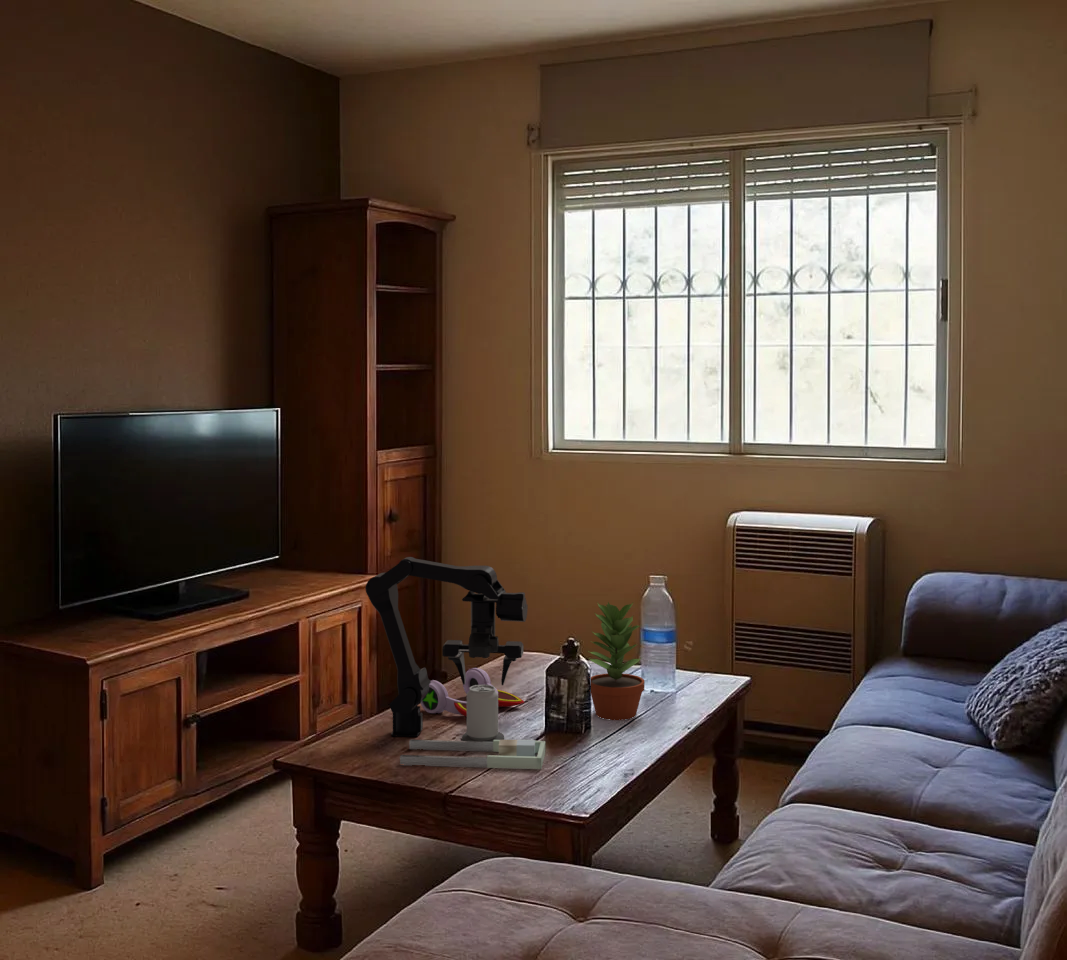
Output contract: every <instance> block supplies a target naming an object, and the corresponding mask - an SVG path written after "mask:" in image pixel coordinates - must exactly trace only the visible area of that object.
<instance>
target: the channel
mask: <svg viewBox="0 0 1067 960" xmlns="http://www.w3.org/2000/svg"><path fill="white" fill-rule="evenodd" d="M408 749H409V750H417V749H420V750H421V749H423V750H424V751H452V752H453V751H461V752H462V751H463V752H490V753H491V752H492V753H493V742H484V741H462V740H443V739H436V740H435V739H409V748H408ZM423 750H422V751H423ZM400 764H404V765H403V766H412V765H425V766H424V767H450V768H451V767H453V768H454V767H457V768H481V769H482V768H483V769H485V768H487V756H454V755H453V756H452V755H451V756H449V755H448V756H447V755H442V756H441V755H418V754H415V755H414V754H401V755H400V756H399V765H400Z"/></svg>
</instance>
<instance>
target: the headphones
mask: <svg viewBox="0 0 1067 960" xmlns="http://www.w3.org/2000/svg"><path fill="white" fill-rule="evenodd" d="M489 675H490V674H488V673H487V671H485V670H484V669H482V668H478V667H472V668H469V669H468V670H467V671H465V676H466V679H465V685H463V684H462V687H463V691H464V692H465V694H466V695H467V693H468V692H469V691H470V690H469V688H470V687H471V686H474V685H491V686H494V685H493V684H492V680H491V678H490V676H489ZM430 681H431V683H430V684H429V692H428V694H427V695H426V696H425V697H424V698H423V699H422V701H421V703H420V705H421V706H420V707H421V708H422V709H423V710H424V711H425V712H427V713H428V714H436V713H438V714H441V713H443V712H444V711H445V712H449V713H451V714H454V715H457V716H463V717H466V718H467V701H466V700H465V701H464V700H458V699H456V698H453V697H450V696H449V692H448V689H447V688H446V687H445V686H444V684H442V683H441V682H440V681H438V680H434V679H432V680H430ZM495 691H496V692H497V693H498V708H500V707H501V708H504V707H506V708H509V707H516V706H519V705H522V704H524V703H525V700H523V699H522V698H520V697H519V696H517V695H515V694H512V693H510V692H508V691H506V690H505V691H504V690H502V689H498V688H496V687H495Z"/></svg>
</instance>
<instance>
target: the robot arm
mask: <svg viewBox="0 0 1067 960" xmlns="http://www.w3.org/2000/svg"><path fill="white" fill-rule="evenodd" d="M409 576H411V577H414V578H415V577H416V578H421V579H426V580H432V581H438V582H442V583H443V582H444V583H450V584H454V585H456V586H459V587H461V588H463V589H464V590H466V591H468V592H467V593H466V595H465V596H464V597H462V599H461V600H462V602H468V603H469V602H470V633H469V634H470V635H469V638H468V644H465V643H463V641H462V640H459V639H458V640H457V639H455V640H454V639H447V640H446V642H445V643H443V645H442V651H441V653H442V655H441V656H442V657H445V658H446V657H447V659H448V660H449V661H452V662H453V663H454V665H455V667H456V669H457V670H458V674H459V677H460V680H461V682H462V686H463V685H465V679H466V676H465V673H466V666H465V664H466V663H465V654H464V653H468V657H469V658H472V659H476V658H483V659H488V658H489V657H490V655H491V654H504V657H503V661H502V670H501V671H502V672H501V686H504V684H505V681H506V678H507V675H508V671H509V668H510V667H511V666H510V665H511V664H512V662H516V661H517V659H521V658H522V657H523V655H524V643H523V642H522V641H517V640H516V641H514V640H513V641H512V640H511V641H510V640H508V641H506V642H505V645H504V644H503V645H501V644H500V641H499V636H497V635H496V617H497V618H498V619H500V621H501V622H521V623H523V622H524V623H525V622H526V620H527V616H528V610H529V609H528V604H527V599H526V593H525V592H507V591H506V590H505V588H504V587H503V585H502V584H501V582H500V581H499V580H498V575H497V572H496V570H494V568H493V567H491V566H489V565H466V566H465V565H464V566H463V565H462V566H460V565H453V564H447V563H442V562H435V561H430V560H425V559H419V558H415V557H413V556H407V557H405V558H402V559H401V560H400V561H399V562H398V563H397V564H396V565H394V566H393V567H392V568H390V569H389V570H387V571H386V572H381V573H379V574H377V575H375V576H373V577H371V578H370V579H368V581H367V582H366V585H365V587H364V588H365V593H366V595H367V597H368V599H369V601H370V603H371V605H372V607H374V610H376V611H377V612H378V613H379V616H380V618H381V619H380V620H381V621H382V625H383V628H384V631H385V634H386V638H387V641H388V643H389V647H390V651H391V653H392V657H393V660H394V662H395V665H396V670H397V677H396V678H397V680H396V681H397V682H396V683H397V684H396V685H397V691H398V692H397V693H398V694H397V696H396V697H395V698H394V699H393V700H391V702H390V703H389V708H390V711H391V712H392V732H391V733H390V736H391V735H392V737H408V738H409V737H411V738H412V737H413V738H415V737H419V735H420V733H421V732H422V731H423V730H424V723H423V721H424V720H423V718H424V717H423V712H421V706H419V705H421V701H422V699H423V698H424V697H425V696H426V695H427V694H428V692H429V684H430V683H431V681H432V680H431V679H429V677H428V671H427V668H426V667H423V668H420V666H419V665H418V664H417V663H416V661H415V657H414V654H413V651H412V648H411V645H410V641H409V639H408V635H407V632H406V630H405V626H404V623H403V620H402V617H401V616H402V615H401V613H400V611H399V610H400V609H399V589H398V584H400V583H402V581H404V580H405V579H406V578H408V577H409Z"/></svg>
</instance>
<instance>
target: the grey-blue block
mask: <svg viewBox="0 0 1067 960" xmlns="http://www.w3.org/2000/svg"><path fill="white" fill-rule="evenodd" d="M516 740H517V756H534V757H536V753H535V741H536V739H516Z"/></svg>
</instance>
